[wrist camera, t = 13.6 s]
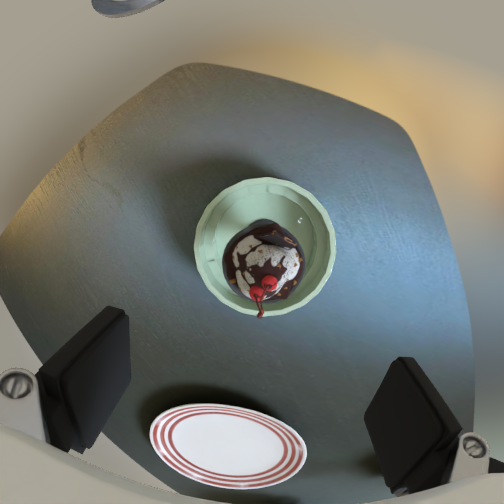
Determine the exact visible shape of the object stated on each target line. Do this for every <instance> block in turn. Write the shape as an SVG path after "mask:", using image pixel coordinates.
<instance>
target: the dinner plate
mask: <svg viewBox="0 0 504 504" xmlns="http://www.w3.org/2000/svg"><path fill="white" fill-rule="evenodd" d="M150 441H151V444H152V446H153V448H154V450H155V451H156V453H157V454H158V455H159V456H160V457H161V459H162V460H163V461H164V462H165V463H167V464H168V465H169V466H170V467H172V468H173V469H174V470H176V471H177V472H179V473H181V474H183V475H184V476H187V477H189V478H191V479H193V480H196V481H198V482H201V483H204V484H208V485H212V486H216V487H222V488H229V489H255V488H262V487H267V486H271V485H275V484H278V483H280V482H283V481H285V480H287V479H289V478H290V477H292V476H293V475H294V474H296V473H297V472H298V471H299V470H300V469H301V467H302V466H303V464H304V462H305V460H306V456H307V450H306V446H305V443H304V441H303V439H302V438H301V437H300V435H299V434H298V433H297V432H296V431H295V430H293V429H292V428H291V427H289V426H288V425H286V424H285V423H283V422H281V421H279V420H277V419H275V418H273V417H271V416H268V415H266V414H263V413H260V412H257V411H254V410H250V409H246V408H242V407H236V406H230V405H223V404H211V403H198V404H186V405H181V406H177V407H174V408H171V409H169V410H166V411H164V412H163V413H161V414H160V415H159V416H157V417H156V418H155V420H154V421H153V423H152V424H151V427H150Z"/></svg>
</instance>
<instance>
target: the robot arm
mask: <svg viewBox="0 0 504 504" xmlns="http://www.w3.org/2000/svg"><path fill="white" fill-rule="evenodd" d="M113 1H126V0H113ZM130 381H131V362H130V339H129V317H128V315H125V312H124V310H122V309H119V308H115V307H112V306H107V307H106V308H105V309H103V310H102V311H101V312H100V313H99V314H98V315H97V316H95V317H94V318H93V319H92V320H91V321H90V322H89V323H88V324H87V325H85V326H84V327H83V328H82V329H81V330H80V331H79V332H78V333H77V334H76V335H74V336H73V337H72V338H71V339H70V340H69V341H68V342H67V343H66V344H65V345H64V346H63V347H62V348H60V349H59V350H58V351H57V352H56V353H55V354H54V355H53V356H52V357H51V358H50V359H49V360H48V361H47V362H46V363H45V364H44V365H43V366H42V367H41V368H40V369H39V371H38V372H37V373H36V374H35V375H34V374H33V373H31V372H30V371H28V370H26V369H23V368H11V369H8V370H5V371H3V372H2V373H1V374H0V504H230V503H223V502H217V501H211V500H205V499H200V498H195V497H190V496H186V495H181V494H177V493H172V492H169V491H165V490H162V489H158V488H155V487H151V486H148V485H145V484H142V483H138V482H136V481H133V480H130V479H127V478H125V477H122V476H119V475H116V474H114V473H111V472H108V471H106V470H103V469H101V468H99V467H96V466H94V465H91V464H89V463H87V462H85V461H83V460H81V459H78V458H76V457H74V456H72V455H70V454H68V452H69V450H70V448H71V449H73V450H75V451H77V452H79V453H81V454H83V452H84V451H85V449H86V448H88V449H90V448H91V447H92V445H93V444H94V442H95V441H96V438H97V437H98V435H99V434H100V432H101V430H102V429H103V427H104V425H105V423H106V422H107V420H108V418H109V417H110V415H111V413H112V412H113V410H114V408H115V407H116V405H117V403H118V402H119V400H120V398H121V397H122V395H123V393H124V392H125V390H126V388H127V387H128V385H129V383H130ZM364 421H365V424H366V427H367V429H368V432H369V435H370V438H371V441H372V444H373V447H374V450H375V453H376V456H377V459H378V462H379V465H380V468H381V471H382V474H383V477H384V480H385V483H386V486H387V487H390V490H391V493H392V494H395V493H399V492H404V491H405V490H406V489H408V492H409V493H408V495H405V496H400V497H396V498H391V499H386V500H380V501H374V502H368V503H361V504H504V463H503V462H500V461H498V460H496V459H493V458H490V448H489V445H488V443H487V442H486V440H485V439H484V438H483V437H481V436H480V435H478V434H476V433H465V434H463V435H462V436H461V437H460V438H458V436H457V435H458V434H459V433H460V431H461V430H462V427H461V425H460V424H459V422H458V421H457V419H456V418H455V416H454V415H453V413H452V412H451V410H450V409H449V407H448V406H447V404H446V403H445V401H444V400H443V398H442V397H441V396H440V394H439V393H438V391H437V390H436V388H435V387H434V385H433V384H432V383H431V381H430V380H429V378H428V377H427V376H426V374H425V373H424V371H423V370H422V369H421V367H420V366H419V365H418V363H417V362H416V360H415V359H414V358H412V357H398V358H397V359H396V360H395V361H393V362H392V363H391V365H390V367H389V369H388V371H387V373H386V375H385V377H384V379H383V381H382V383H381V385H380V387H379V389H378V390H377V392H376V394H375V396H374V398H373V400H372V401H371V403H370V405H369V406H368V408H367V410H366V412H365V415H364Z"/></svg>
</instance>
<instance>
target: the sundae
mask: <svg viewBox="0 0 504 504" xmlns="http://www.w3.org/2000/svg"><path fill="white" fill-rule="evenodd" d="M305 268H306V263H305V255H304V252H303V249H302V247H301V245H300V243H299V242H298V240H297V239H296V238H295V237H294V236H293V235H292V234H291V233H290V232H289V231H288V230H287V229H285V228H283V227H281V226H280V225H279V224H278V223H276V222H274V221H272V220H268V219H262V220H257V221H255V222H253V223H251V224H250V225H249V226H248V227H247V228H245V229H243V230H241V231H239V232H238V233H236V234H235V235H234V236H233V237H232V238H231V239H230V241H229V242H228V243H227V245H226V247H225V249H224V253H223V257H222V269H223V274H224V278H225V280H226V282H227V284H228V285H229V287H230V288H231V289H232V291H234V292H235V293H236V294H237V295H239V296H240V297H242V298H244V299H246V300H249V301H252V302H256V303H257V306H258V309H259V313H258V314H257V317H258V318H261V317H262V316H263V314H264V310H263V307H262V304H268V303H276V302H278V301H281V300H285V299H287V298H288V297H289V296H290V295H291V294H292V293H293V292H294V291H295V290H296V288H297V287H298V286H299V284H300V282H301V280H302V278H303V276H304V272H305ZM259 303H260V305H261V309H260V306H259Z"/></svg>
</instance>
